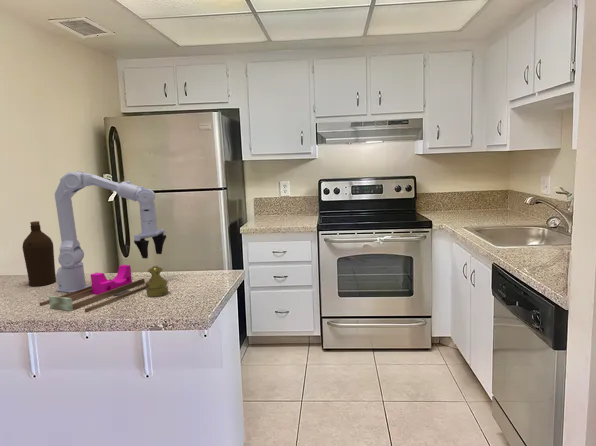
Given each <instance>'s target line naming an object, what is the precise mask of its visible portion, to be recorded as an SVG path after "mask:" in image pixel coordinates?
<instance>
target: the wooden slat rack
mask: <svg viewBox="0 0 596 446" xmlns="http://www.w3.org/2000/svg"><path fill="white" fill-rule="evenodd" d="M108 280H109V281H111V280H112V278H111V279H108ZM144 284H146V282H145V278H140V279H138V280H136V281H132V283H129V284H126V285H124V286H121V287H118V288H115V289H113V290H110V291H107V292H104V293H101V294H99V295H94V294H93V292H92V285H88V286H89V287H86V288H83V289H80V290H77V291H74V292H67V293H66V294H62V295H59V296H57V295H56V296H54V295H50V296H48V300H44V301H41V302H39V307H43V306H46V305H49V308H50V309H52V310H53V309H54V310H60V311H61V310H62V311H67V312H73V311H75V310H78V309H80V308H83V307H85V306H89V305H91V304H93V303H96V304H93V305H91V306H89V307H86V308H84V312H85V313H88V312H91V311H93V310H97V309H98V308H101V307H103V306H106V305H108V304H111V303H114V302H116V301H118V300H122V299H125V298H126V297H129V296H132V295H134V294H136V293H139V292H142V291H144V290H146V289H147V287H146V285H144ZM141 285H143V286H141ZM138 286H140V287H138ZM136 287H138V288H136ZM133 288H135V289H133ZM130 289H133V290H130ZM92 295H94V296H92ZM88 296H90V297H88ZM112 296H114V297H112ZM85 297H88V298H85ZM109 297H112V298H110V299H107V300H104V299H106V298H109ZM82 298H85V299H82ZM80 299H82V300H80ZM77 300H79V301H77ZM102 300H104V301H102ZM74 301H77V302H75V303H73V302H74ZM98 301H99V302H100V301H102V302H100V303H97V302H98Z"/></svg>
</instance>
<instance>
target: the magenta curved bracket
mask: <svg viewBox="0 0 596 446" xmlns="http://www.w3.org/2000/svg"><path fill="white" fill-rule="evenodd" d="M132 278H133V277H132V268H131V265H130V264H121V265H118V271H117V273H116V275H115V277H114V278H113V279H111V281H109V280H110V279H108V278H106V275H105V273H103V272H94V273H91V274H90V281H91V282H90V283H91V286H92V292H93V294H92V295H94V296H96V295H99V294H101V293H104V292H107V291H110V290H113V289H115V288H118V287H121V286H124V285H126V284H129V283H132V282H133V279H132Z"/></svg>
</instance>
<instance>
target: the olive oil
mask: <svg viewBox="0 0 596 446" xmlns="http://www.w3.org/2000/svg"><path fill="white" fill-rule="evenodd" d="M22 253H23V258H24V261H25V269H26V272H27V273H26V274H27V278H28V284H29V286H30V287H43V286H44V287H45V286H49V285H52V284H55V283H56V281H57V273H56V266H55V250H54V242H53V240H52V238H51V237H50V236H49V235H47V234H45V233H44V232H43V231H42V229H41V224H40V221H39V220H38V221H36V220H35V221H30V233H29V234H28V235H27V236H26V237H25V239H24V240H23V242H22Z"/></svg>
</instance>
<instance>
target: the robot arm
mask: <svg viewBox="0 0 596 446" xmlns="http://www.w3.org/2000/svg"><path fill="white" fill-rule="evenodd" d="M90 186H96V187H98V188H102V189H106V190H110V191H113V192H116V193H117V195H118V197H120V198H124V199H126V200H131V201H133V202H137V203H138V204H139V217H140V227H141V232H140V233H138V234H135V235H133V239H134V240H133V243H134V244H135V246H136V247H137V248H138V250H139V252H140V255H141V258H142V259H149V243H150V240H146V239H150V238H152V241H153V243H154V248H155V254H156V255H162V253H163V248H164V243H165V241H166V240H167V239H166V238H167V235H166V229H163V228H160V229H158V220H157V211H156V210H157V209H156V203H155V200H156V194H155V192H154V191H153V189H151V188H148V187H145V188H144V186H142V185H140V186H139V185H136V184H133V183H132V182H131V181H128V180H127V181H122V182H116V181H114V180H111V179H108V178H104V177H102V176H99V175H96V174H93V173H88V172H84V171H70V172H69V171H68V172H67V173H65V174H64V175H62V177H61V178H59V184H58V186H57V188H56V189H55V192H54V200H55V207H56V213H57V220H58V221H57V222H58V226H59V227H58V228H59V234H60V241H61V243H60V245H59V255H58V260H57V261H58V263H59V265H60V267H58V269H57V271H56V281H57V289H56V291H57V292H63V293H64V292H65V293H71V292H74V291H77V290H80V289H83V288H86V287H89V286H90V285H89V284H87V285H86V276H85V268H84V262H82V261H83V259H84V257H85V252H84V251H83V249H82V248H81V247H82V246H81V243H80V242H79V240H78V235H77V230H76V222H75V216H74V208H73V202H72V198H73V197H74V195H76V194H77V193H78V192H79V191H80V190H82V189H84V188H86V187H90Z"/></svg>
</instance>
